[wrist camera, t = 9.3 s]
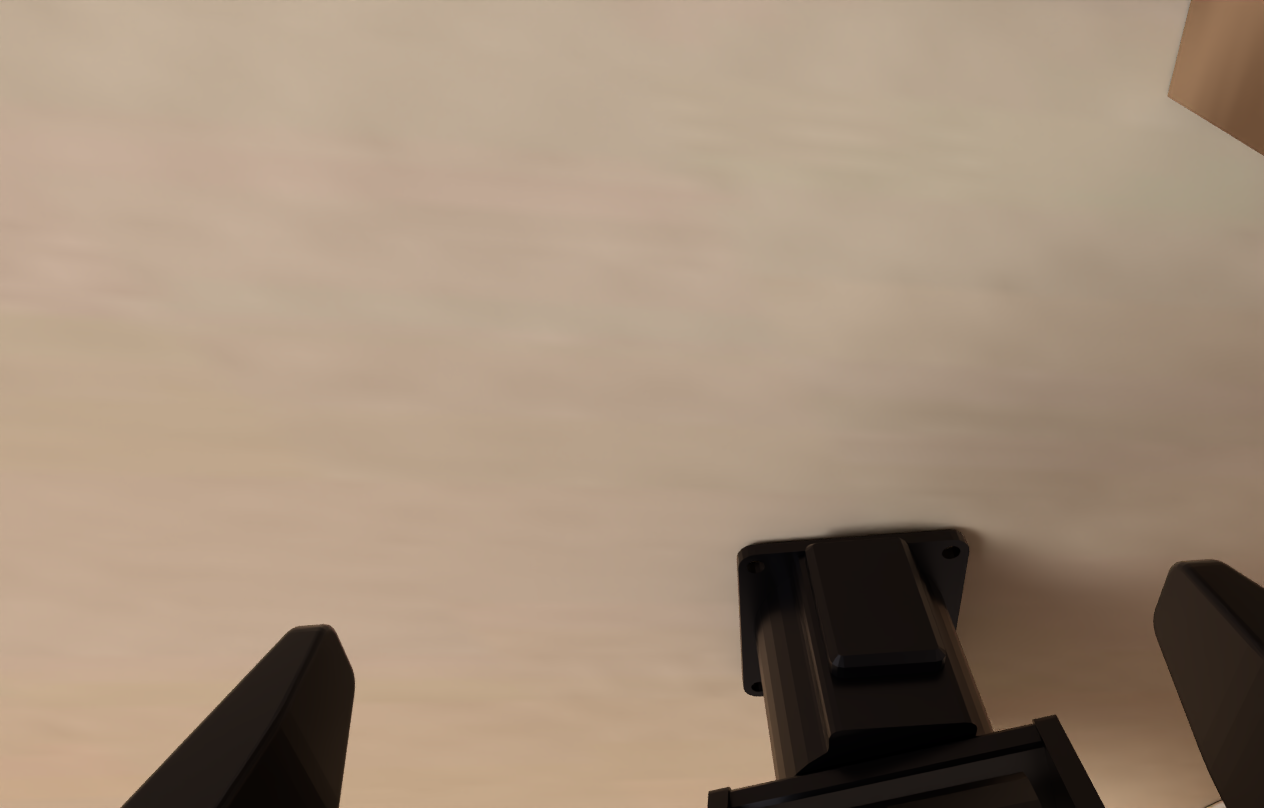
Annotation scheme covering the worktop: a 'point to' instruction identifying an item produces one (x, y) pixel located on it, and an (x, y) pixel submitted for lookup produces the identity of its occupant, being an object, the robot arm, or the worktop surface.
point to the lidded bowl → (1217, 805)
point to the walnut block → (1224, 67)
